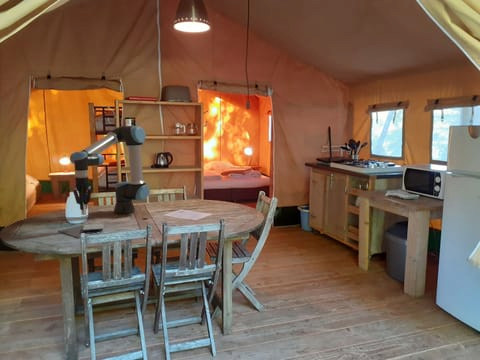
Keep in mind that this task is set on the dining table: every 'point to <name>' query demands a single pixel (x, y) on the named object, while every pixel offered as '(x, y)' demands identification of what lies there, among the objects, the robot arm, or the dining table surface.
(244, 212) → the dining table surface
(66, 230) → the rubber mat
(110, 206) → the dining table surface
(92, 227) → the ink box
